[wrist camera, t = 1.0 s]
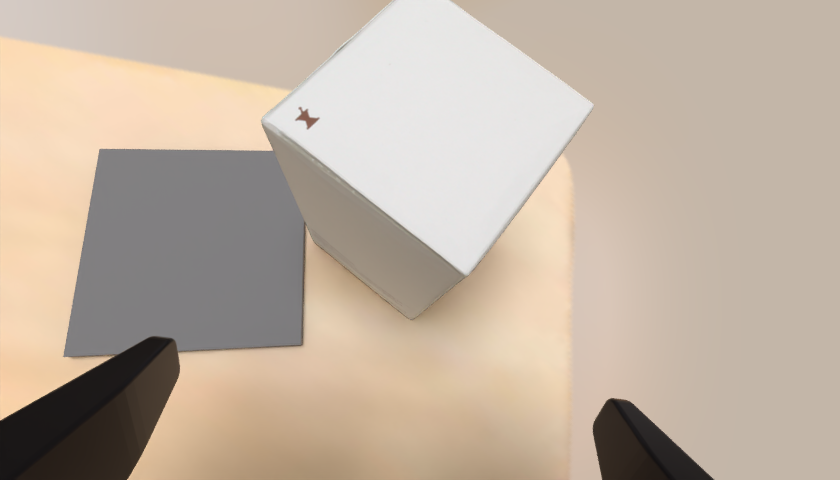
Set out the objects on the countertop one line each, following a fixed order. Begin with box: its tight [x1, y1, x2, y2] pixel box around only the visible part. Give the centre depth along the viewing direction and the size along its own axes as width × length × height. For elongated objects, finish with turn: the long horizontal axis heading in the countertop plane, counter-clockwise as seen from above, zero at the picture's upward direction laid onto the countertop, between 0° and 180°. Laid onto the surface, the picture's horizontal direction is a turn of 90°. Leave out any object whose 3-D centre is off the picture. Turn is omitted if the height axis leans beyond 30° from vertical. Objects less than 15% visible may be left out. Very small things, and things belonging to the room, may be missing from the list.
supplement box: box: [261, 0, 594, 320], centre depth 18 cm, size 7×7×13 cm
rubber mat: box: [63, 149, 305, 357], centre depth 22 cm, size 11×11×1 cm
